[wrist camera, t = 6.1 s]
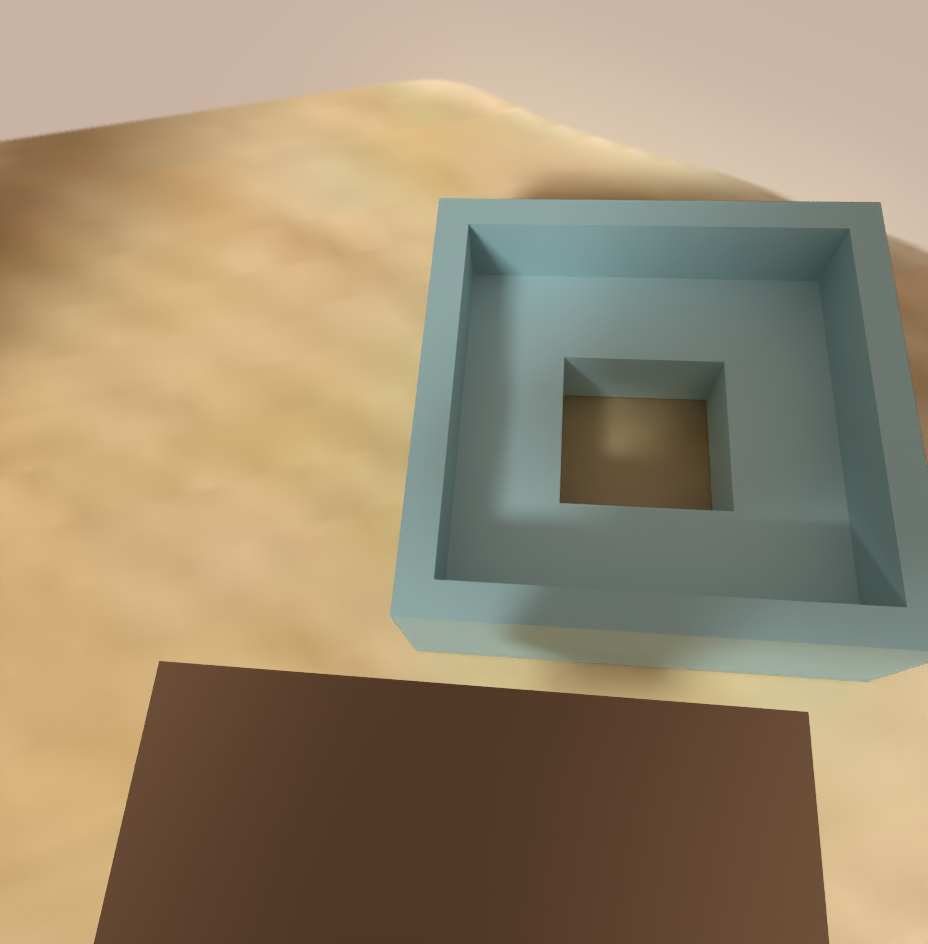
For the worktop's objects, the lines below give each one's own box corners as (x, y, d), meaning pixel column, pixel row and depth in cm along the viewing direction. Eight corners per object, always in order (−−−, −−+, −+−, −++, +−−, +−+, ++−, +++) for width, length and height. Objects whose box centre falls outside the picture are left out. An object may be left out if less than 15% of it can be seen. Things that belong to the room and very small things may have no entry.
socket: (416, 650, 28) (390, 616, 22) (453, 294, 34) (439, 198, 28) (867, 681, 26) (959, 653, 21) (819, 302, 32) (880, 202, 27)
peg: (402, 927, 18) (-60, 1604, 3) (419, 751, 19) (159, 661, 5) (569, 944, 18) (905, 1784, 3) (573, 764, 19) (808, 712, 4)
